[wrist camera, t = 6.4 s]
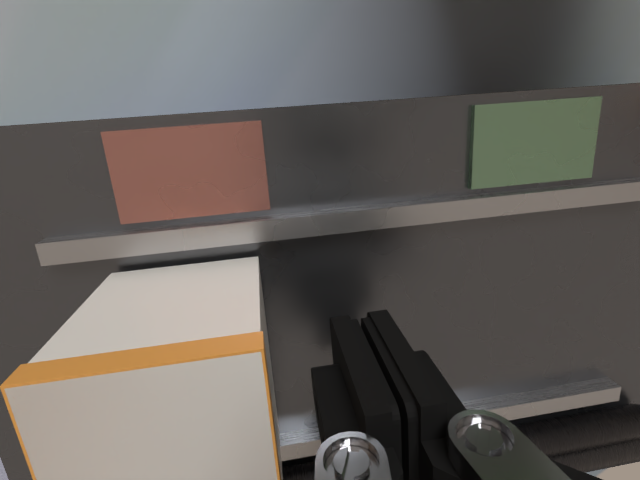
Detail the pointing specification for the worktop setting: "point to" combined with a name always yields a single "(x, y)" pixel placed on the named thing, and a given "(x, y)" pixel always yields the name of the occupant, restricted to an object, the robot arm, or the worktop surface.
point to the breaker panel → (363, 244)
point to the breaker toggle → (154, 381)
